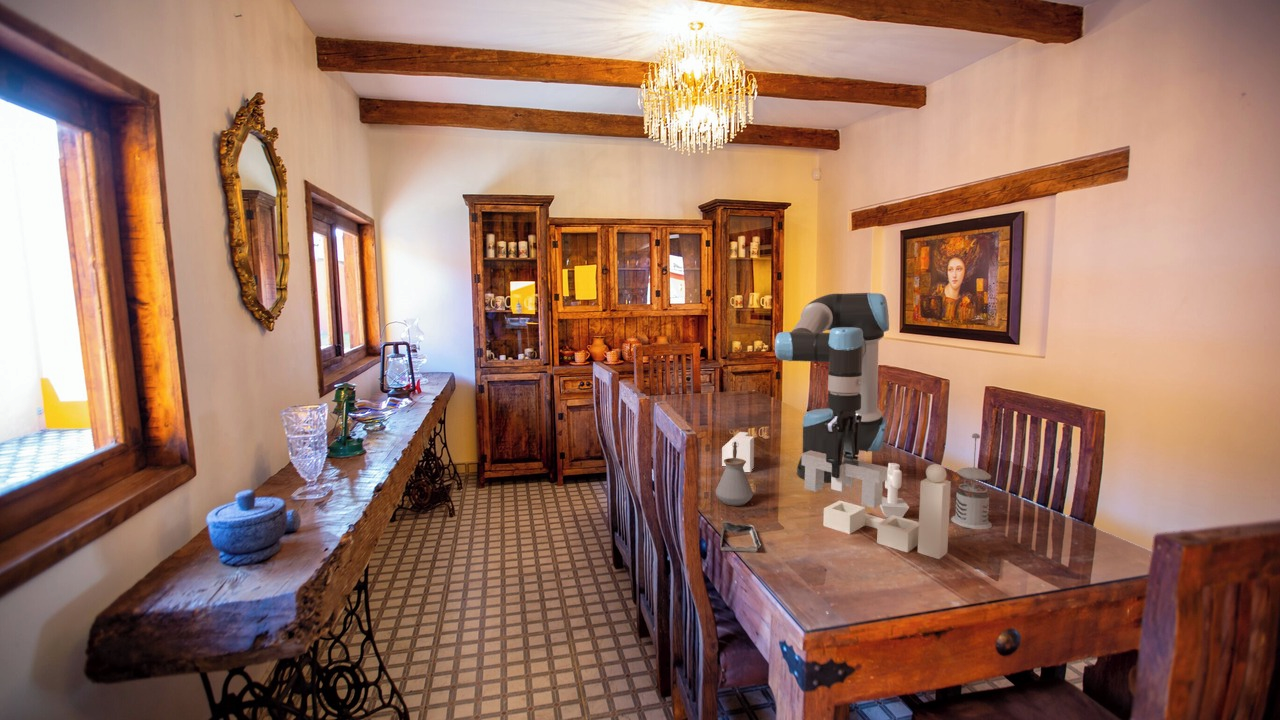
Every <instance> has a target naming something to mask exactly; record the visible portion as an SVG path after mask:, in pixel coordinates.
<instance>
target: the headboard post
mask: <svg viewBox="0 0 1280 720" xmlns="http://www.w3.org/2000/svg"><path fill="white" fill-rule="evenodd" d="M925 475H926V478H924V479H922V480H921V481H920V486H919V487H920V488H919V489H920V490H919V511H918V514H919V515H918V521H915V520H912V519H909V518H904V517H898V516H894V515H892V516H890V517H886V519H885V518H881V517H878V516H875V515H871V514H867V513H866V509H867V508H866V506H863V505H858V504H855V503H850V502H846V501H842V500H838V501H836V502H834V503H832V504H830V505H828V506H826V507H824V508H823V524H822V525H823V526H824V527H825V528H829V529H832V530H835V531H838V532H841V533H844V534H848V535H851V534H852V533H854V532H855V531H857V530H859V529H861V528H862V527H865V526H867V527H870V528H874V529H877V533H876V543H877V544H879V545H882V546H885V547H888V548H891V549H895V550H898V551H901V552H904V553H909V552H910V551H912V550H913V549H914V548H916V547H917V553H918V554H921V555H924V556H927V557H930V558H932V559H937V560H941V559H942V558H943V557H944V556H946V555H947V553H948V545H949V524H950V507H951V506H950V504H951V503H950V502H951V485H952V484H951V483H952V481H950V480H946V478H947V470H946V468H945V467H944V466H943V465H940V464H937V463H934V464H933V463H932V464H930V465H928V466H927V468H926V469H925Z"/></svg>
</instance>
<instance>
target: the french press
mask: <svg viewBox="0 0 1280 720" xmlns="http://www.w3.org/2000/svg"><path fill="white" fill-rule="evenodd" d="M980 437H981V435H980V434H979V433H972V436H971V438H973V439H974V454H973V455H974V456H973V467H963V468H960V469H958V470H957V471H956V474H957V475H958V476H961V477H963V478H964V483H961V484H958V486H957V487H958V489H957V490H956V498H955V499H956V500H955V515H953V516H952V517H951V519H950V520H951V521H952V522H953V524H955V525H958V526H961V527H963V528H967V529H971V530H972V529H973V530H989V529H991V528H992V526H993V525H992V523H991V522H990V521H989V509H990V494H988V492H989V489H988V488H987V487H984V486H982V485H979V484H975V480H976V481H988V480H990V479H991V478H992V475H991V474H990V473H988V472H987V471H986V470H984V469H981V468H979V467H976V450H977V439H981V438H980ZM967 480H970V483H966V481H967ZM969 494H970V495H971V497H969Z"/></svg>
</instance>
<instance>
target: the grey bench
mask: <svg viewBox="0 0 1280 720" xmlns="http://www.w3.org/2000/svg"><path fill="white" fill-rule="evenodd" d="M801 456H802V465H803V466H805V479H804V490H807V491H811V492H814V493H817V492H818V491H821V490H823V489H824V488H825V485H824V484H825V482H824V471H828V472H832V464H831V463H828V462H826V454H825V453H820V452H816V451H811V450H810V451H807V452H804V453H802V452H801ZM842 464H844V476H848V477H853V479H858V480H862V481H861V482H862V483H861V506H863V507H868V508H871V509H875V508H877V507H878V506H879V507H880V505H881V504H882V498H883V492H884V491H883V488H884V487H883V484H884V483H885V481H886V480H887V471H888V466H884V465H880V464H875V463H870V462H865V461H861V460H854V459H853V460H852V459H848V458H845V457H844V456H843V457H842Z"/></svg>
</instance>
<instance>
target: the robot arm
mask: <svg viewBox="0 0 1280 720" xmlns="http://www.w3.org/2000/svg"><path fill="white" fill-rule="evenodd" d="M889 330H890V317H889V307H888V302H887V297H886V296H885V295H884V294H882V293H878V292H877V293H874V292H873V293H872V292H856V293H855V292H852V293H851V292H850V293H829V294H825V295H823V296H819V297H818V298H816V299H814V300H812V301H810V302H809V303H807V305H805V307H804V308H803V309H802V310H801V313H800V319H799V320H798V322H797V323H796V324H795V326H794V327H793V329H792V330H791V331H782V332H781V331H780V332H778V333H776V335H775V339H774V353H775V356H776V359H778V360H779V361H788V362H816V363H817V362H820V363H828V374H827V375H828V376H827V377H828V378H827V379H828V380H827V390H828V392H829V393H828V394H827V408H818V409H813V410H809V411H807V412H805V413H804V415H803V419H802V421H803V422H802V452H801V454H802V453H804V452H807V451H810V450H811V451H816V452H820V453H825V454H826V462H828V463H831V464H832V472H828V471H824V483H830V489H831V490H834V491H838V492H844V486H846V487H847V486H848V487H850V488H852V487H853V486H854V478H853V477H848V476H844V464H842V457H843V458H848V459H852V460H857V461H859V460H858V459H859V456H858V455H859V454H860V451H861V452H862V451H863V452H867V453H868V452H874V453H875V452H876V453H878V452H880V451H881V450H882V449H883V446H884V440H885V434H886V428H887V419H888V418H887V417H885V416H883V412H882V411H881V410H880V408H878V387H879V384H878V383H879V342H880V340H882V339H883V338H884V337H885V332H888V331H889ZM825 331H829V332H825ZM796 475H797V476H798V477H799V478H801V479H803V480H805V466H803V465H802V455H800V459H799V461H798V464H797V468H796Z"/></svg>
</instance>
